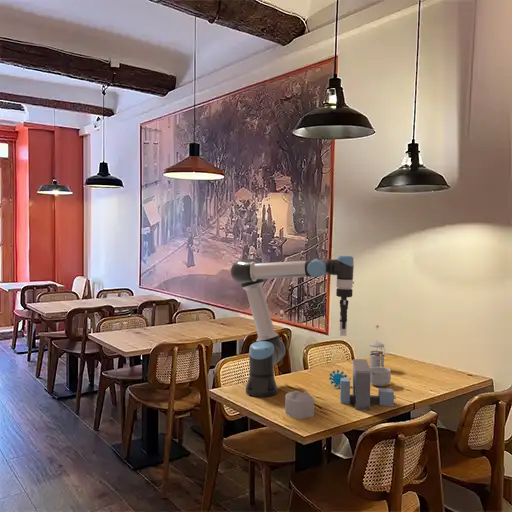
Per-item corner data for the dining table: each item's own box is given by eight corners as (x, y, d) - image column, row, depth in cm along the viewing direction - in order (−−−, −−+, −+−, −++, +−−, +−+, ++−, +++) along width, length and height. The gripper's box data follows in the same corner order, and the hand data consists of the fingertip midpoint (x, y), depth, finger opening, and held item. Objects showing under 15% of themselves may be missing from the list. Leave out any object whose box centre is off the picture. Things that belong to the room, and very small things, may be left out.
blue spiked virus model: (330, 386, 241) (328, 368, 247) (327, 392, 245) (325, 374, 252) (352, 388, 242) (350, 370, 249) (348, 394, 246) (346, 376, 253)
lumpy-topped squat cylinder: (296, 420, 200) (297, 399, 200) (279, 410, 211) (279, 390, 211) (317, 415, 205) (317, 395, 205) (299, 406, 216) (299, 387, 216)
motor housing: (355, 409, 212) (355, 370, 212) (352, 394, 232) (352, 359, 232) (370, 410, 211) (370, 371, 211) (366, 395, 232) (366, 359, 231)
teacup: (386, 389, 241) (386, 373, 241) (365, 385, 247) (365, 370, 247) (395, 382, 253) (395, 367, 253) (374, 379, 259) (374, 364, 259)
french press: (364, 368, 279) (364, 325, 278) (376, 365, 287) (376, 322, 286) (379, 372, 272) (379, 327, 271) (390, 368, 280) (391, 324, 279)
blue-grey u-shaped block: (340, 403, 221) (340, 381, 220) (340, 399, 225) (340, 378, 225) (396, 405, 217) (396, 383, 217) (394, 402, 222) (395, 380, 222)
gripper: (353, 291, 220) (352, 338, 221) (351, 286, 245) (349, 328, 246) (336, 290, 221) (335, 337, 222) (336, 285, 246) (334, 327, 247)
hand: (342, 332), depth 234 cm, fingers open, 13 cm apart
